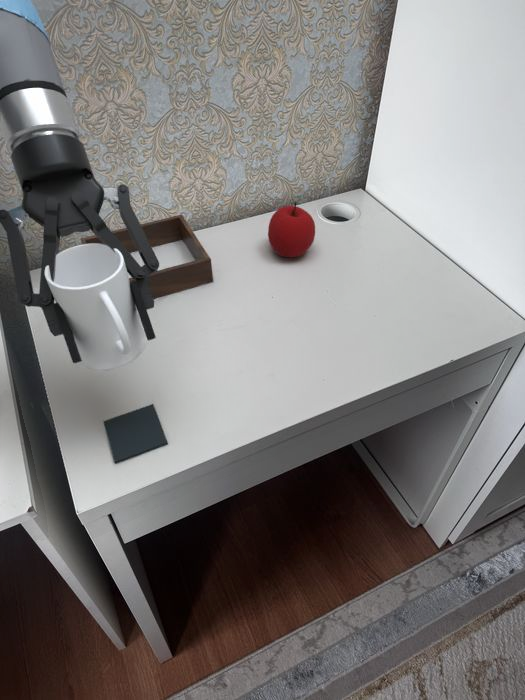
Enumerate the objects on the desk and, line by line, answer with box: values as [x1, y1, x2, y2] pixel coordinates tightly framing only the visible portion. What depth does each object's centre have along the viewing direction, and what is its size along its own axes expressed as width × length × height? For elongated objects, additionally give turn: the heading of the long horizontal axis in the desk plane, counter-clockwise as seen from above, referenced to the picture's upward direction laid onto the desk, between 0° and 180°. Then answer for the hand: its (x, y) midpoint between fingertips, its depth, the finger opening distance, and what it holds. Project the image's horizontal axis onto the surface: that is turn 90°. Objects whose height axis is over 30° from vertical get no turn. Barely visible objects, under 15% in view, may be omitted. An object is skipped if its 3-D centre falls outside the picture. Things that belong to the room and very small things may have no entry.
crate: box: [79, 214, 214, 300], centre depth 88 cm, size 16×20×5 cm
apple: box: [267, 201, 316, 258], centre depth 90 cm, size 9×9×10 cm
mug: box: [45, 243, 148, 371], centre depth 53 cm, size 12×8×12 cm
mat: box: [102, 403, 169, 465], centre depth 64 cm, size 7×7×1 cm
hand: (115, 350), depth 53 cm, fingers closed on mug, 7 cm apart
